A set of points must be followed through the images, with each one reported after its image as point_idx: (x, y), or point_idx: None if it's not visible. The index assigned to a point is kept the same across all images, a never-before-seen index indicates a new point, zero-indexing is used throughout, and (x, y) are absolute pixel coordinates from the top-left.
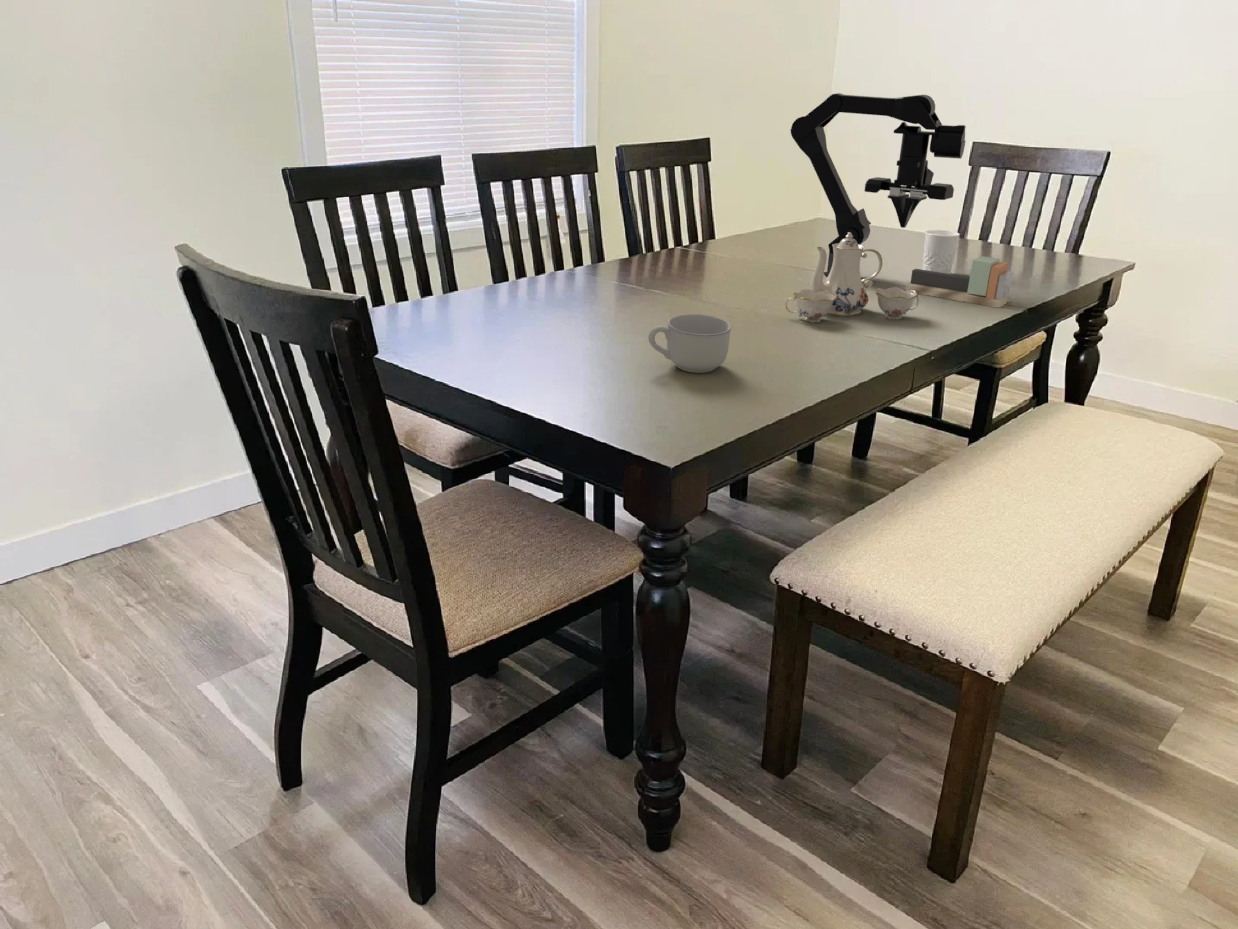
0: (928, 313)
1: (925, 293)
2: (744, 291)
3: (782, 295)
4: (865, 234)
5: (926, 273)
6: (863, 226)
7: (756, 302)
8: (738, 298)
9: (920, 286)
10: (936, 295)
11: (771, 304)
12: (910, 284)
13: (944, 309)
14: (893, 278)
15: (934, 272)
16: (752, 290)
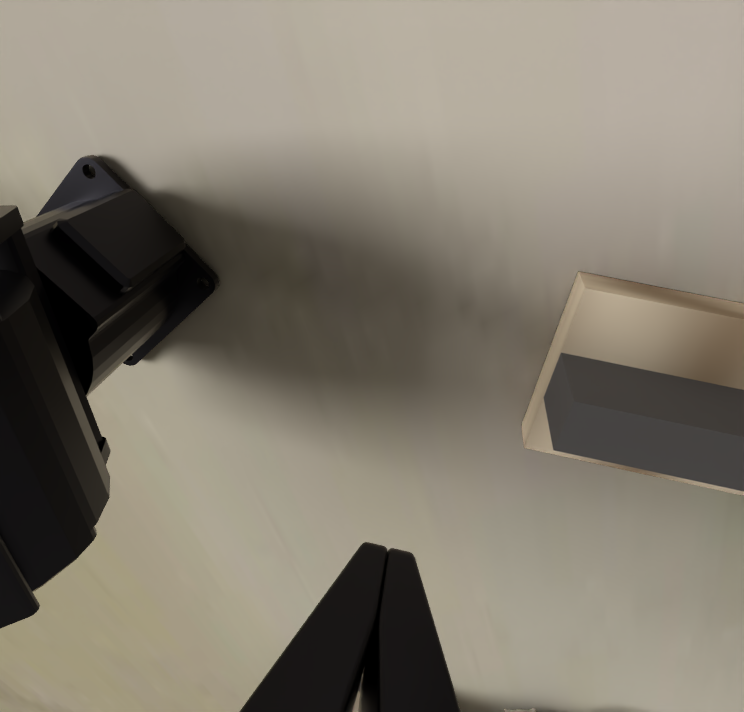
0: (646, 674)
1: None
2: None
3: (132, 617)
4: (64, 492)
5: (654, 466)
6: (19, 618)
7: (128, 686)
8: (67, 668)
9: None
10: None
11: (169, 692)
12: (546, 423)
13: (719, 623)
14: (388, 111)
15: (716, 456)
16: None
